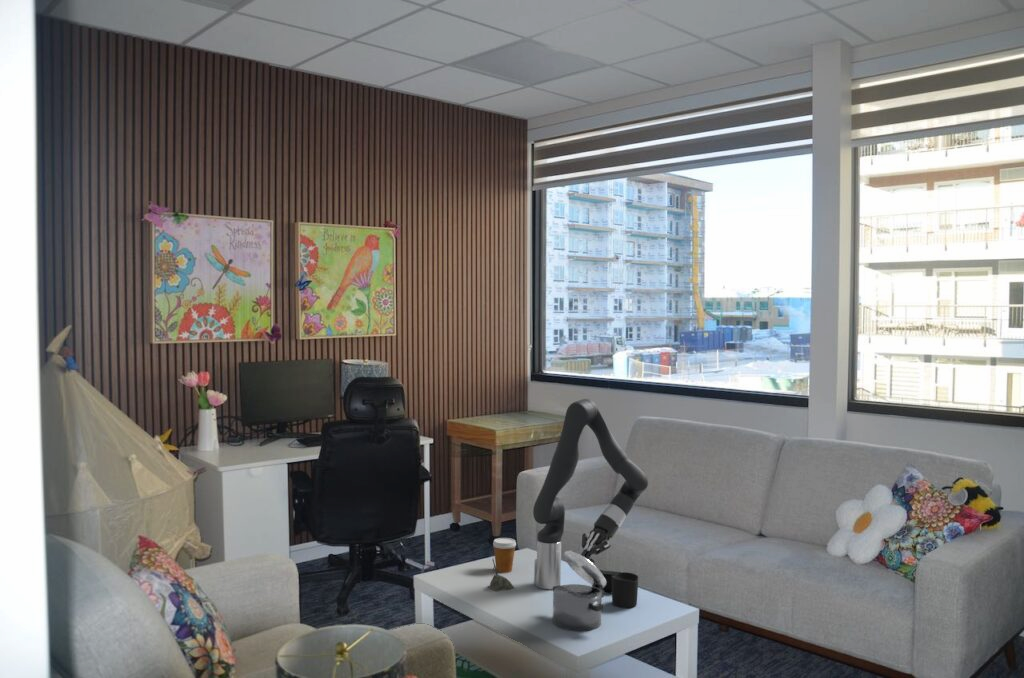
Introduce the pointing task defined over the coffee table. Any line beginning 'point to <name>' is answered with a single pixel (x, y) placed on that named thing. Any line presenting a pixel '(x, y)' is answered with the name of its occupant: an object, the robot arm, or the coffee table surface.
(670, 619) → the coffee table surface
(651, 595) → the coffee table surface
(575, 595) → the cooker pot
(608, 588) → the digital camera
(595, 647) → the coffee table surface
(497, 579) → the sword in stone
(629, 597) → the pen holder
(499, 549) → the disposable coffee cup
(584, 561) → the cooker lid
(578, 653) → the coffee table surface
